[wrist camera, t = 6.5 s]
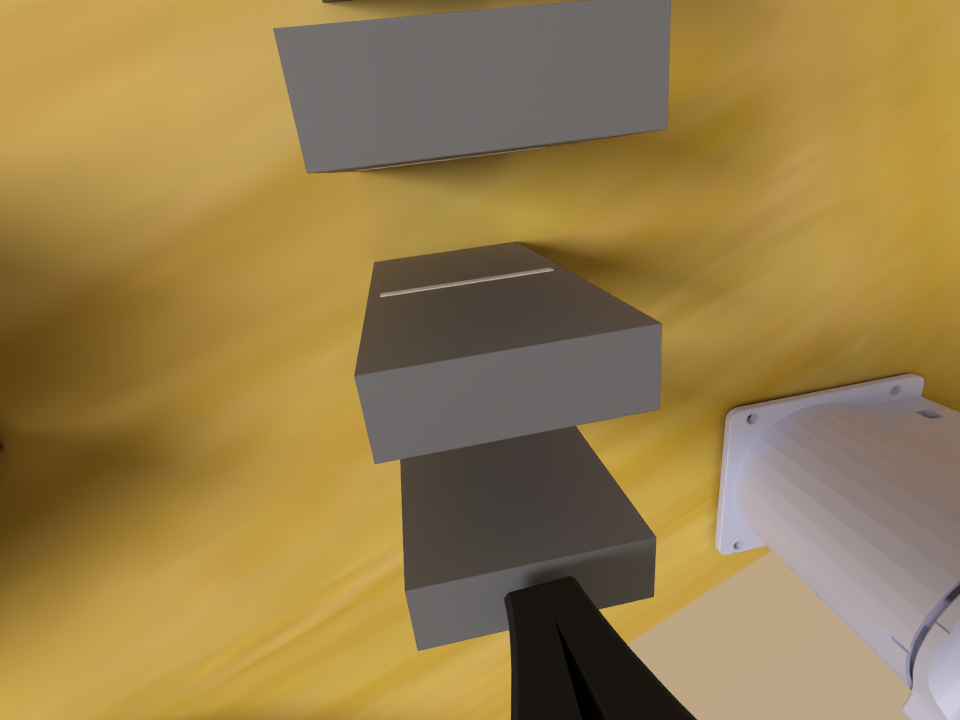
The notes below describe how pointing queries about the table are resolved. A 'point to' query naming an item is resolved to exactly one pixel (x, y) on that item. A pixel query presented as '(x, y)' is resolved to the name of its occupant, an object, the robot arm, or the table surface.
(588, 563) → the domino
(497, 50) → the domino
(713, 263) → the table surface
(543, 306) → the domino
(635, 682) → the robot arm
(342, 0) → the domino
